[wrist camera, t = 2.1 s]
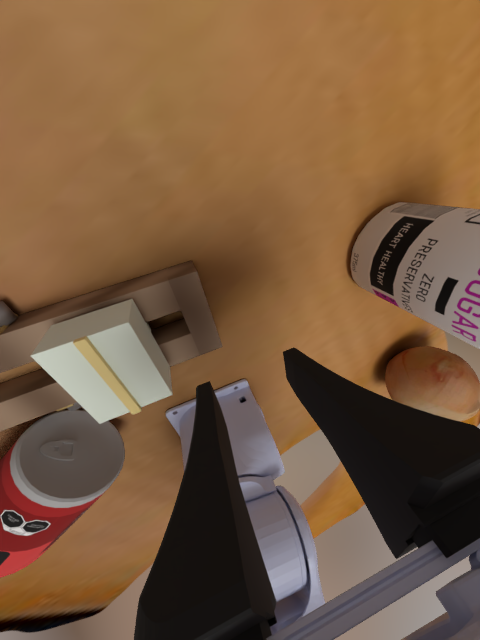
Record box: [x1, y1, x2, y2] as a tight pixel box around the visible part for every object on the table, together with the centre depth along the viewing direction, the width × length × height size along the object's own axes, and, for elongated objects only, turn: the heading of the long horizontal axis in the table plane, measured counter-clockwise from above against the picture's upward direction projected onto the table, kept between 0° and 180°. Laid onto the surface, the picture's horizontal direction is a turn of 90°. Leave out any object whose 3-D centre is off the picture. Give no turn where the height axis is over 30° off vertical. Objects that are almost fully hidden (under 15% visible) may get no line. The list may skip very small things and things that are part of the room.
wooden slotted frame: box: [0, 261, 222, 431], centre depth 17 cm, size 26×10×2 cm, turn 102°
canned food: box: [0, 410, 125, 578], centre depth 20 cm, size 8×8×11 cm
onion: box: [385, 346, 480, 421], centre depth 30 cm, size 10×10×10 cm
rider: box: [31, 299, 173, 424], centre depth 16 cm, size 5×6×6 cm
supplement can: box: [350, 202, 480, 349], centre depth 17 cm, size 8×8×15 cm
